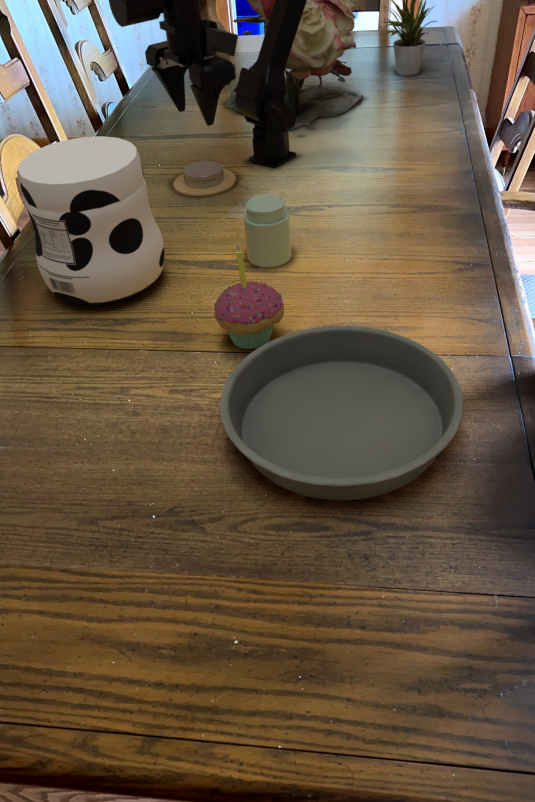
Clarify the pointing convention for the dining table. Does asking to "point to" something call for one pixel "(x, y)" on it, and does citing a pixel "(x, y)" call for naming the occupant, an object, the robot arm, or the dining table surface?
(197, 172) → the lid
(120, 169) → the milk container
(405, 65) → the house plant
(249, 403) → the cake pan
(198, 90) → the robot arm
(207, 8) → the ceramic vessel
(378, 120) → the dining table surface
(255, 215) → the jar
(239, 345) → the cupcake
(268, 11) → the rose bouquet
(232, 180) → the coaster
